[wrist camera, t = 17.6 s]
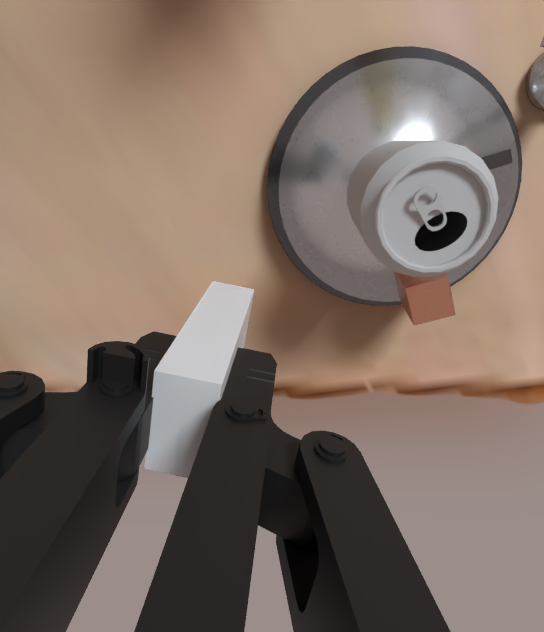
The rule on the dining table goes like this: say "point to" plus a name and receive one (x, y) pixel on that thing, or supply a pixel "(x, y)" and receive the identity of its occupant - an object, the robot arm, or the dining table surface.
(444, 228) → the can
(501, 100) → the turntable base
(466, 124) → the platter
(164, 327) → the dining table surface
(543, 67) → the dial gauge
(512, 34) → the dining table surface
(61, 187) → the dining table surface
